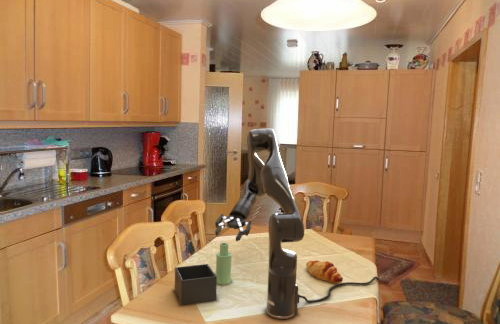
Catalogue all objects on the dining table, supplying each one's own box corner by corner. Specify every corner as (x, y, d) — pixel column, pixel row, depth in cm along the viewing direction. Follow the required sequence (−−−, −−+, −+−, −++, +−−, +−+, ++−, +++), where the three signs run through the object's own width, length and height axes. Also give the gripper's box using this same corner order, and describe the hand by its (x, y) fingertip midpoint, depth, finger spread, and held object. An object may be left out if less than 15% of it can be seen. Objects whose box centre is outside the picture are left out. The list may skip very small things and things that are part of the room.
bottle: (228, 277, 155) (229, 241, 153) (232, 283, 149) (233, 245, 148) (214, 279, 153) (215, 242, 151) (218, 285, 147) (219, 247, 146)
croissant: (301, 275, 167) (295, 261, 165) (317, 261, 172) (311, 247, 169) (336, 294, 149) (330, 278, 147) (353, 278, 154) (347, 262, 151)
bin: (207, 285, 147) (207, 263, 146) (216, 300, 135) (216, 276, 134) (174, 289, 142) (175, 267, 141) (181, 305, 131) (181, 280, 130)
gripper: (225, 200, 165) (209, 225, 153) (257, 208, 161) (243, 234, 149) (226, 213, 170) (210, 239, 157) (257, 221, 165) (243, 248, 153)
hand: (226, 237), depth 153 cm, fingers open, 8 cm apart
